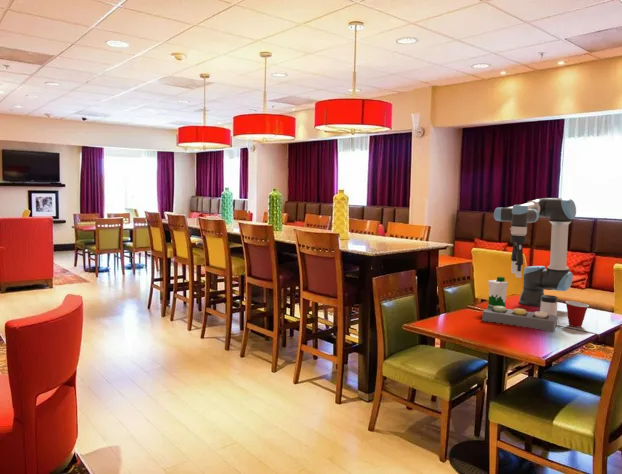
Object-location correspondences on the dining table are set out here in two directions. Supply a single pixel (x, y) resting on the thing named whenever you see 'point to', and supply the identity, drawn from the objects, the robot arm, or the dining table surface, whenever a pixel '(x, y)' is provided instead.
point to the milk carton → (497, 292)
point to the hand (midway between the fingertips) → (515, 275)
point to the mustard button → (520, 311)
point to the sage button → (499, 308)
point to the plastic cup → (576, 313)
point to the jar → (549, 304)
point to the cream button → (540, 314)
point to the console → (520, 319)
